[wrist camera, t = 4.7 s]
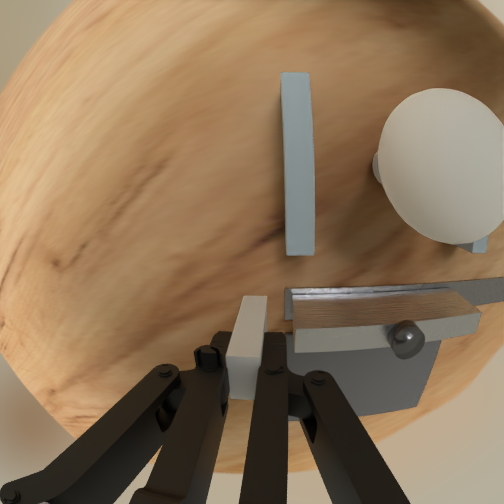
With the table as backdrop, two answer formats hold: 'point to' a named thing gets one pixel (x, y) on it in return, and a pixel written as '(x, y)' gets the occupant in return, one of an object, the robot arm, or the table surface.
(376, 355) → the mat
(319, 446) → the robot arm
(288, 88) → the channel
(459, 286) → the track
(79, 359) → the table surface
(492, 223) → the light bulb
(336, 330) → the latch bar
